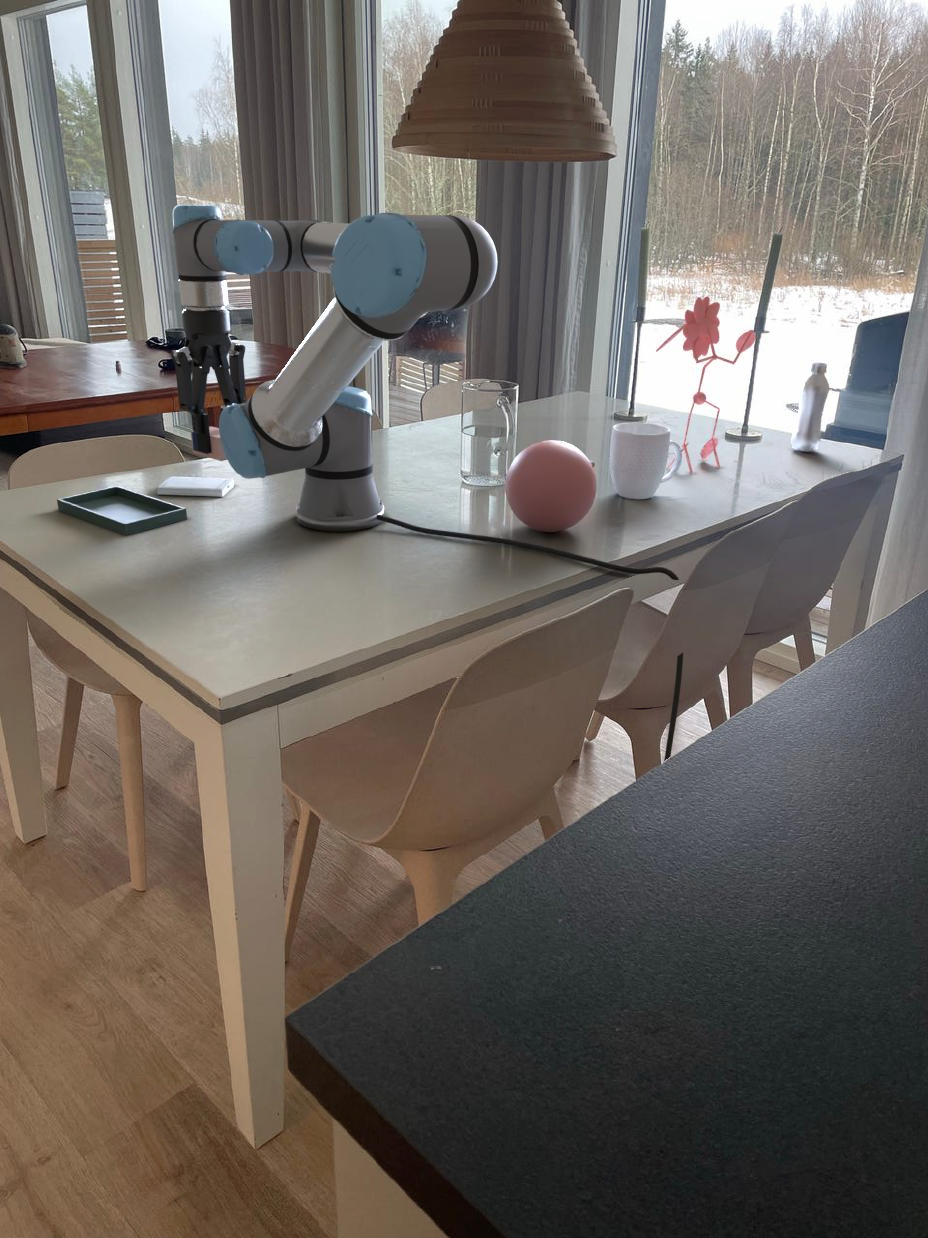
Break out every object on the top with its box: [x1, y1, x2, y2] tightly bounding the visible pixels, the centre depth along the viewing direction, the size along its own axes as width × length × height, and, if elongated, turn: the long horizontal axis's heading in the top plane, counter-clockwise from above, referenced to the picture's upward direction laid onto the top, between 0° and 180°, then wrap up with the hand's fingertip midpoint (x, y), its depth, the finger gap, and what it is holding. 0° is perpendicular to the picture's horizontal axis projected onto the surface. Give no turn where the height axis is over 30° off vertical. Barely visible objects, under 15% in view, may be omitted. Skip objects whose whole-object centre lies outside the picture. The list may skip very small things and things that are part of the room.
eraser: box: [190, 426, 228, 462], centre depth 161 cm, size 8×5×4 cm, turn 51°
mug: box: [609, 422, 683, 500], centre depth 179 cm, size 15×11×13 cm
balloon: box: [504, 439, 598, 533], centre depth 159 cm, size 15×20×15 cm
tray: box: [56, 485, 188, 537], centre depth 163 cm, size 21×12×2 cm, turn 51°
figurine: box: [655, 295, 757, 474], centre depth 198 cm, size 15×26×35 cm, turn 127°
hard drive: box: [156, 476, 235, 498], centre depth 178 cm, size 2×8×12 cm
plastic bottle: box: [790, 362, 830, 453], centre depth 214 cm, size 6×7×20 cm
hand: (217, 448), depth 161 cm, fingers closed on eraser, 5 cm apart
